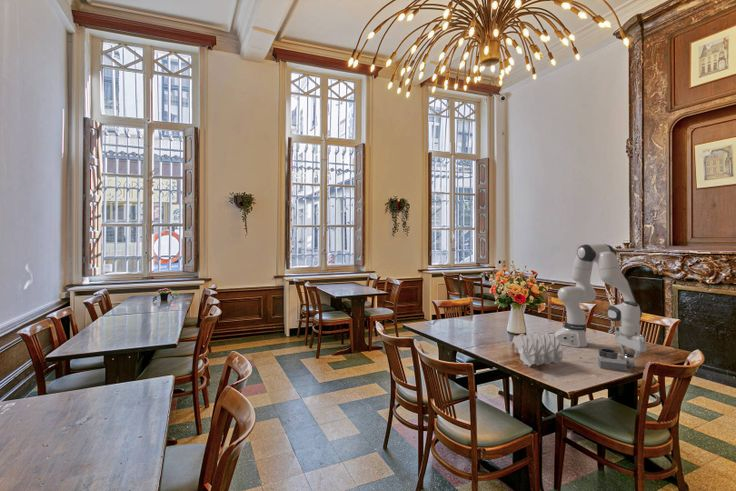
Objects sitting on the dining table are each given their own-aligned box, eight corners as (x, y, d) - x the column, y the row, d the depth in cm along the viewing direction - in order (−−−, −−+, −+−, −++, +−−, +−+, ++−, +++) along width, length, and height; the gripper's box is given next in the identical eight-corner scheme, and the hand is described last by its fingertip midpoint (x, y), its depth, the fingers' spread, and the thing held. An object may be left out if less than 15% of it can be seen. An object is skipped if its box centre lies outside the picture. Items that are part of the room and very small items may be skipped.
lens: (624, 367, 213) (624, 354, 212) (622, 364, 218) (622, 352, 217) (635, 368, 210) (636, 356, 210) (633, 365, 215) (634, 353, 215)
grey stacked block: (599, 368, 211) (600, 352, 210) (597, 363, 219) (598, 347, 219) (626, 371, 206) (626, 355, 205) (623, 366, 214) (623, 350, 214)
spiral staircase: (561, 371, 216) (524, 373, 209) (541, 349, 231) (507, 351, 224) (574, 346, 208) (536, 348, 201) (553, 326, 224) (517, 326, 216)
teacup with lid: (524, 350, 242) (525, 332, 242) (533, 354, 233) (533, 335, 233) (507, 350, 240) (507, 332, 240) (514, 355, 231) (515, 336, 231)
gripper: (650, 335, 203) (649, 361, 203) (623, 326, 223) (623, 350, 223) (638, 335, 203) (638, 361, 203) (612, 326, 223) (612, 350, 223)
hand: (630, 355), depth 213 cm, fingers open, 8 cm apart
